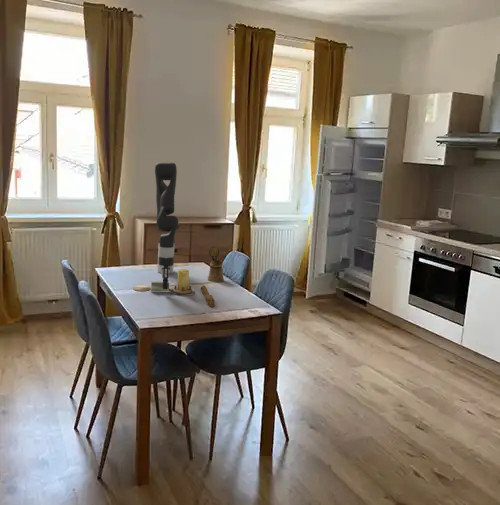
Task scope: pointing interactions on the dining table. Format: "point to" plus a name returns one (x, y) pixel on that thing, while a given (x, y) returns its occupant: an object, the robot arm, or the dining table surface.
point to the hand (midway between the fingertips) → (165, 288)
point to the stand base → (183, 294)
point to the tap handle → (207, 296)
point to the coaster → (141, 288)
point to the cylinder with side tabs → (183, 279)
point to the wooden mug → (215, 266)
